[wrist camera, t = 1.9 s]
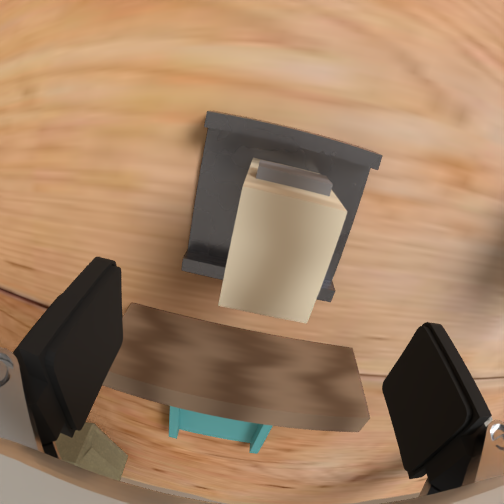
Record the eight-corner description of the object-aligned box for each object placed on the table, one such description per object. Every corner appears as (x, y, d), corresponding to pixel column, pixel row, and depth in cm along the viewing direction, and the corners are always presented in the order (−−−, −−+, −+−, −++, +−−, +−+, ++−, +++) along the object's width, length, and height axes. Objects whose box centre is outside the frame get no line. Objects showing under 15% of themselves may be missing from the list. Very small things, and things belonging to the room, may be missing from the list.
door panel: (352, 347, 27) (370, 418, 19) (344, 363, 28) (358, 432, 20) (131, 302, 26) (93, 365, 19) (131, 319, 27) (96, 383, 20)
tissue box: (59, 445, 44) (33, 505, 30) (28, 414, 40) (-6, 476, 26) (130, 455, 40) (106, 533, 26) (95, 422, 37) (59, 508, 22)
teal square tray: (175, 371, 29) (171, 384, 28) (282, 392, 30) (282, 406, 28) (171, 425, 34) (168, 436, 32) (258, 442, 34) (257, 453, 33)
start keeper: (373, 151, 19) (382, 155, 18) (327, 289, 24) (330, 302, 23) (212, 110, 19) (207, 111, 17) (187, 258, 24) (181, 270, 22)
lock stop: (322, 165, 20) (351, 198, 13) (296, 253, 23) (306, 323, 15) (255, 148, 20) (245, 172, 12) (235, 240, 22) (218, 305, 15)
